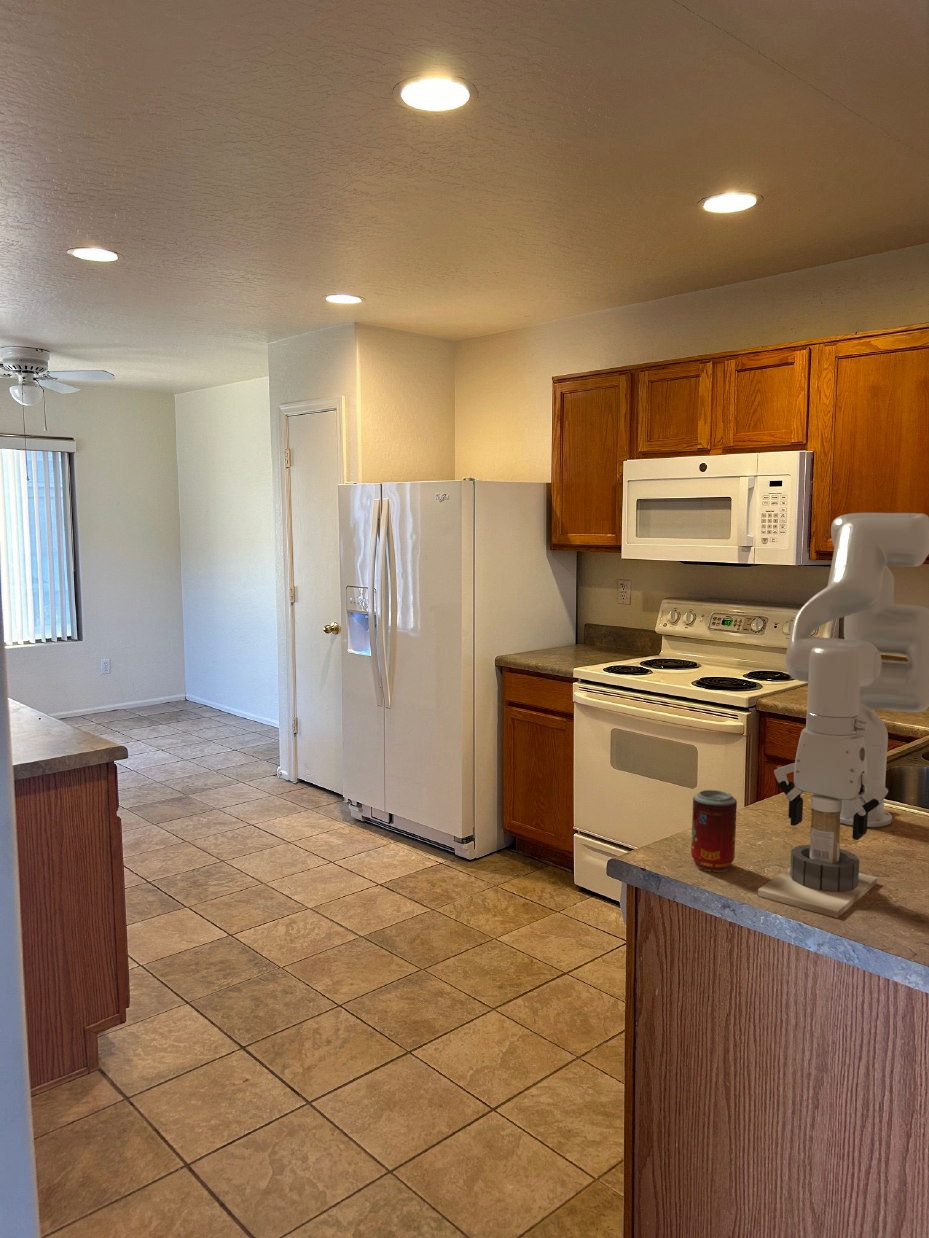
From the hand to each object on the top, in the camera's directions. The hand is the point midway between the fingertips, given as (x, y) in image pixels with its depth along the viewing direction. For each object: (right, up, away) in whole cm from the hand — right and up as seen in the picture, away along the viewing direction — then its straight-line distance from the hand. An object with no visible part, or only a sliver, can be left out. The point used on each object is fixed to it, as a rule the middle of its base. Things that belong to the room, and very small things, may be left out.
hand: (826, 830), depth 144 cm
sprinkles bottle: (0, -8, +1) cm, 8 cm away
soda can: (-16, -8, +9) cm, 20 cm away
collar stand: (-2, -9, -1) cm, 9 cm away
